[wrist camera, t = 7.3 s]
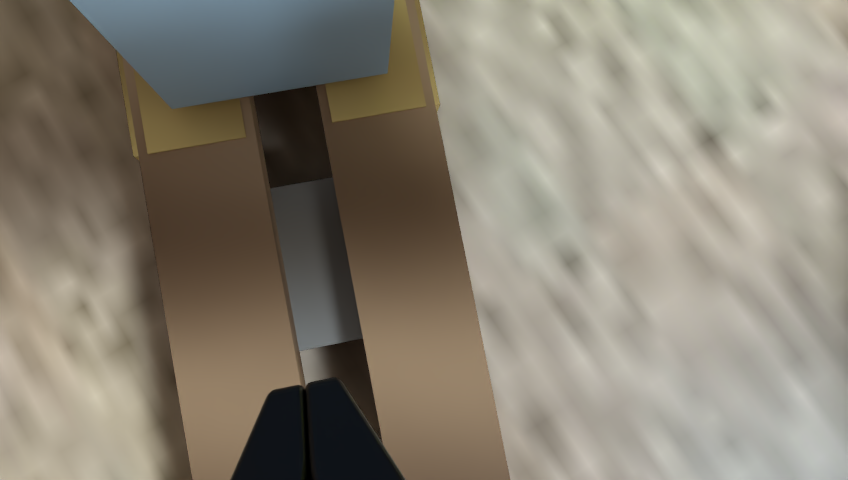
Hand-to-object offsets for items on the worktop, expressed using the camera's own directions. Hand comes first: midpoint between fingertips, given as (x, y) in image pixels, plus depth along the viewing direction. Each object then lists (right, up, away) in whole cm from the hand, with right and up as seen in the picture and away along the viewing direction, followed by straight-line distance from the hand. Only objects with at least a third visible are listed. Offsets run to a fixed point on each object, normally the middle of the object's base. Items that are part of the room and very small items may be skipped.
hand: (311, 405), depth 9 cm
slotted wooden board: (-1, +1, +9) cm, 9 cm away
